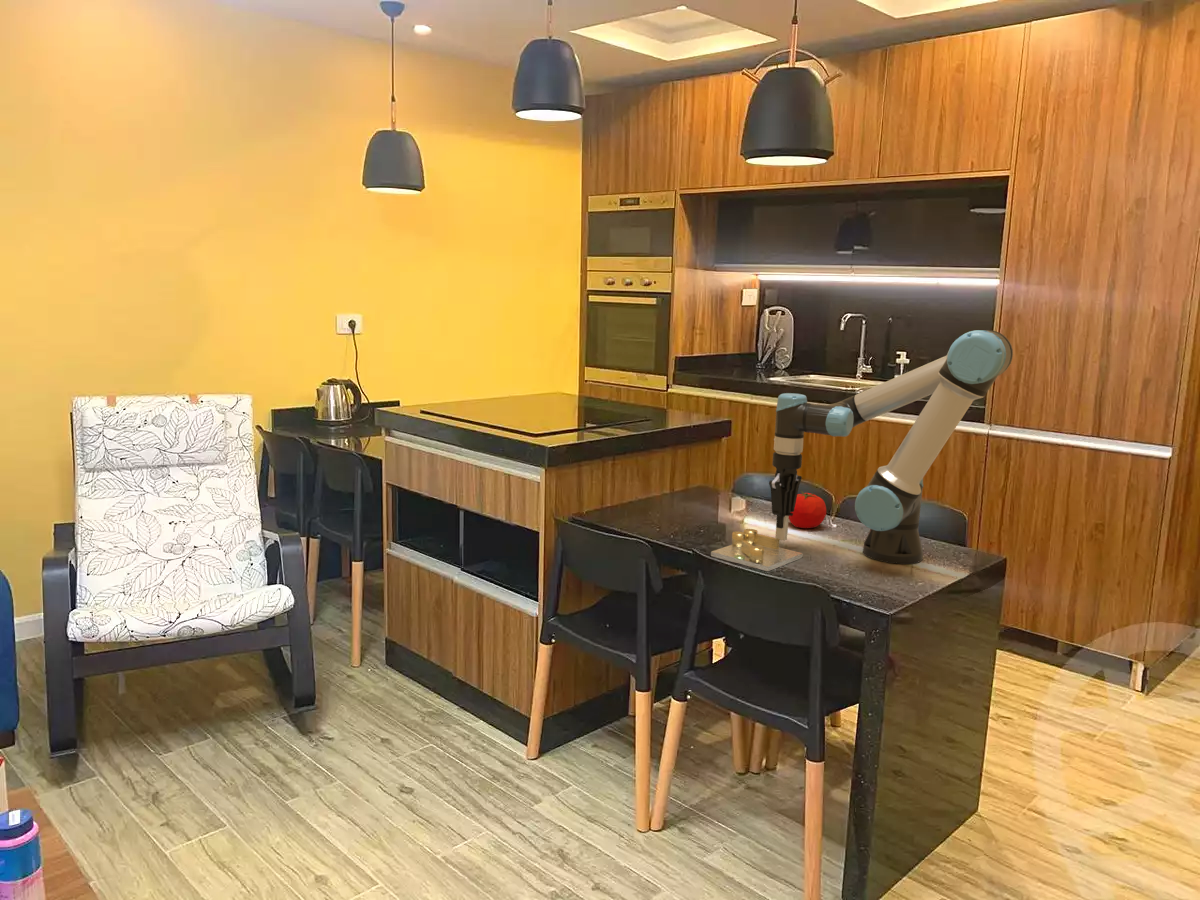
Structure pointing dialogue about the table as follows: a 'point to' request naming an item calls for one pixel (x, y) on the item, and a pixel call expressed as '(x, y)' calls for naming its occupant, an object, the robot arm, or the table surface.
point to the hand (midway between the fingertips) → (781, 538)
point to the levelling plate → (734, 554)
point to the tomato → (808, 511)
